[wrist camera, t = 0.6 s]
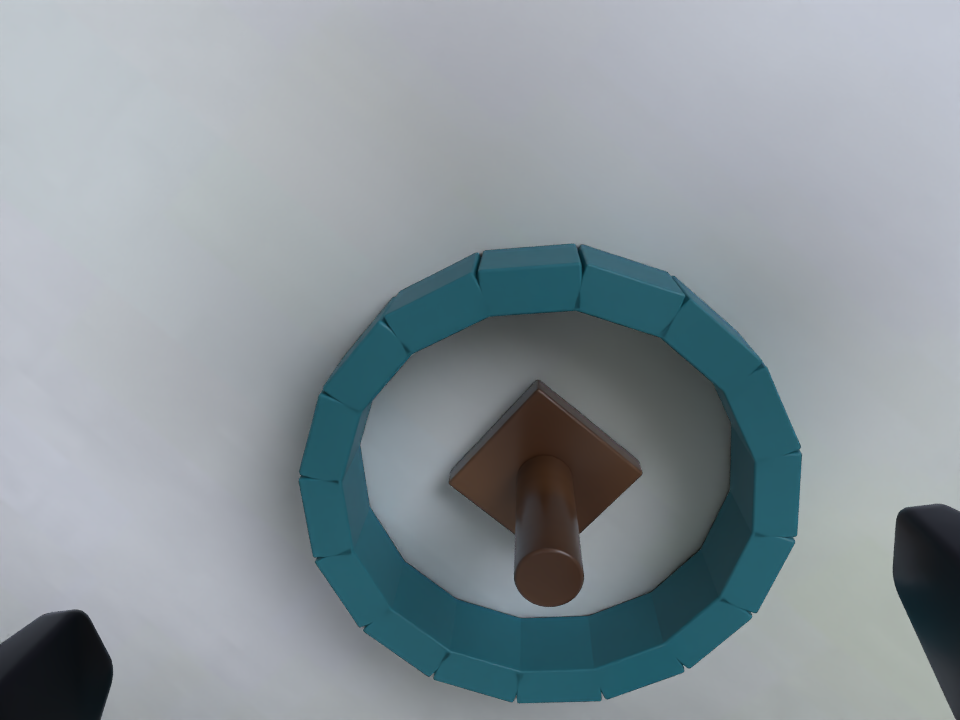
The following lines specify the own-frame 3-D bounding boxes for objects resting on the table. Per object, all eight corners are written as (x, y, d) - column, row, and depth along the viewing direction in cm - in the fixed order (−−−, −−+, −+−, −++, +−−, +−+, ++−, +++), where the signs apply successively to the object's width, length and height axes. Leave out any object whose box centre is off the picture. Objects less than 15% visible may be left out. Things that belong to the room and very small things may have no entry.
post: (549, 547, 23) (555, 678, 18) (449, 471, 23) (426, 584, 18) (640, 461, 22) (674, 574, 17) (538, 377, 22) (541, 469, 16)
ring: (561, 712, 26) (564, 772, 23) (239, 482, 23) (209, 524, 21) (870, 449, 22) (910, 491, 19) (521, 140, 19) (521, 148, 17)
